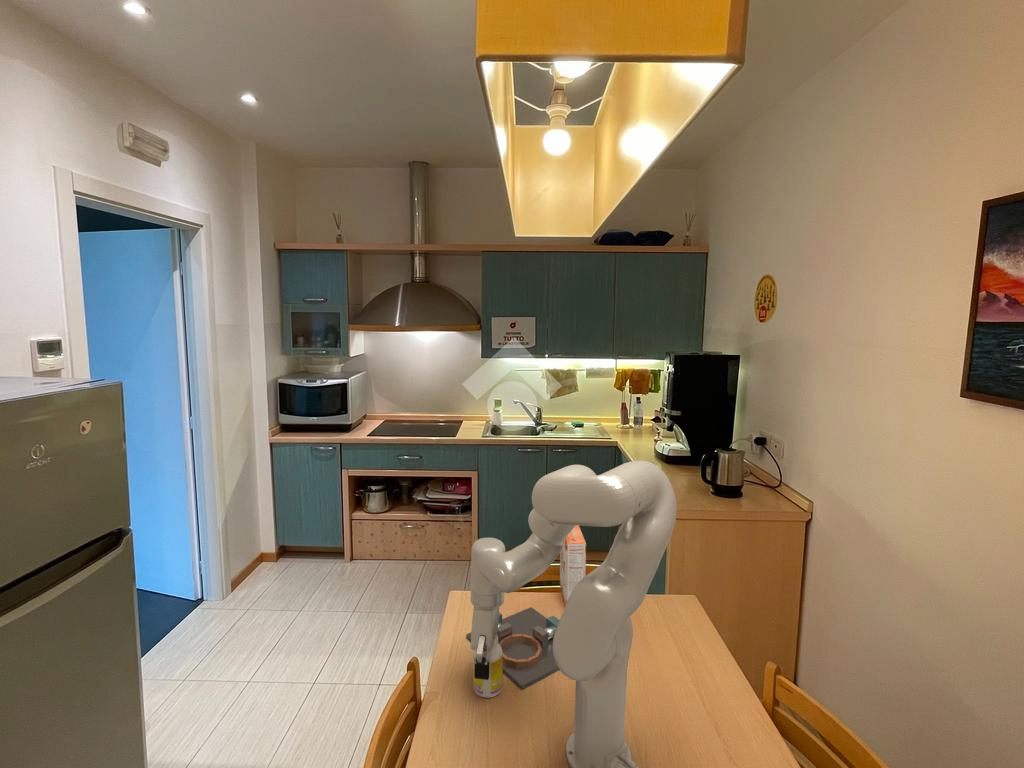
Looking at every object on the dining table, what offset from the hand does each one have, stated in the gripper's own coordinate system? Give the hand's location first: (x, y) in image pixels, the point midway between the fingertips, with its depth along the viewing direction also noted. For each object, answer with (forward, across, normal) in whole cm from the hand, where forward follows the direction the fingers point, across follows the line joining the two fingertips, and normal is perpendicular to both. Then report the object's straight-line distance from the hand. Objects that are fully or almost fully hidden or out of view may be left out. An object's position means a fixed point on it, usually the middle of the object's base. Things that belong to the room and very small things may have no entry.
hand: (486, 663), depth 120 cm
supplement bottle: (+6, 0, +1) cm, 6 cm away
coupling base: (+6, -17, +8) cm, 19 cm away
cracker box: (+6, -41, +18) cm, 46 cm away
